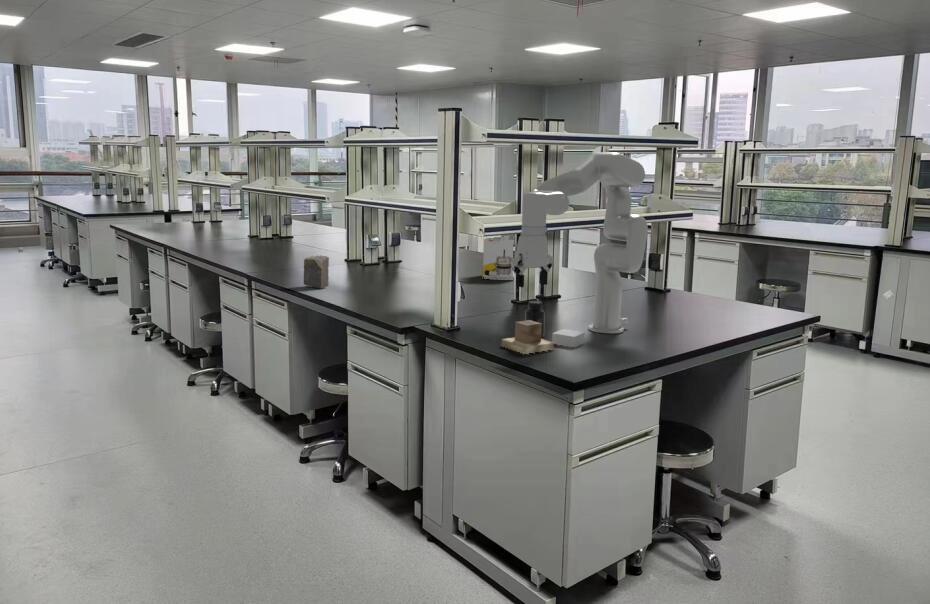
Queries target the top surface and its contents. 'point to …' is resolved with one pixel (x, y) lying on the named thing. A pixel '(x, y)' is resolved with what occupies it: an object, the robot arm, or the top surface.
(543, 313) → the supplement bottle
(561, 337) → the grey plastic block
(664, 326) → the top surface
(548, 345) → the oak block
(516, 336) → the walnut cube
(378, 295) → the top surface
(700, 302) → the top surface
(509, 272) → the packaging box
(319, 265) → the geological specimen
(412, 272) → the top surface
